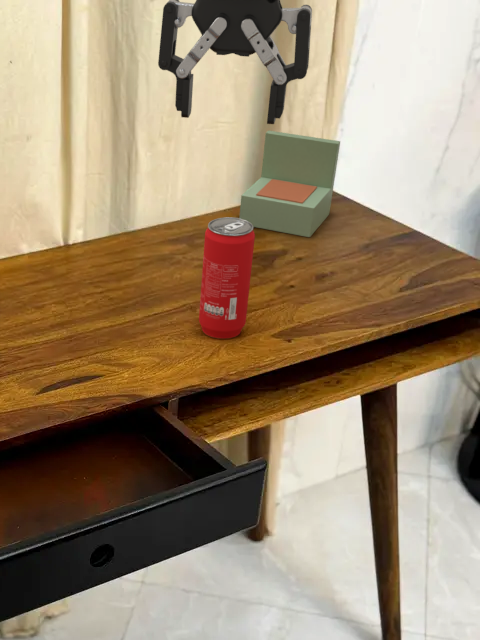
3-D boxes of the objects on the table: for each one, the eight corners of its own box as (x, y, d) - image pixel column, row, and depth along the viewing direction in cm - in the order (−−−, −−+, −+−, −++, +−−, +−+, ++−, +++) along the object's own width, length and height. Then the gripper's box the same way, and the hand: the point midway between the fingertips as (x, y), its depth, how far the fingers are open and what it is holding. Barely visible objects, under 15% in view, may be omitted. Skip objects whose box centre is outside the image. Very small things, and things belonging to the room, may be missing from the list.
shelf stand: (329, 214, 136) (340, 141, 130) (309, 237, 130) (320, 161, 124) (260, 202, 140) (268, 130, 134) (238, 224, 134) (245, 149, 128)
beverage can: (188, 327, 110) (195, 224, 103) (221, 314, 113) (230, 212, 105) (221, 345, 107) (230, 239, 100) (254, 331, 110) (266, 227, 102)
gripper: (157, -65, 87) (151, 125, 97) (321, -59, 84) (297, 135, 94) (172, -77, 92) (165, 103, 102) (326, -72, 90) (303, 113, 100)
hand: (228, 118), depth 98 cm, fingers open, 8 cm apart
